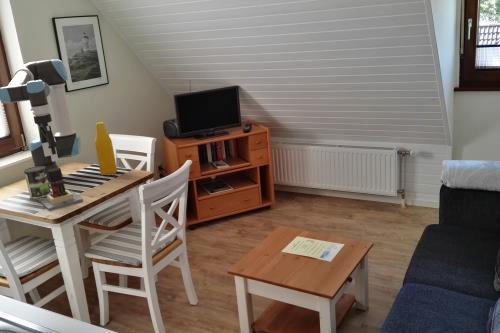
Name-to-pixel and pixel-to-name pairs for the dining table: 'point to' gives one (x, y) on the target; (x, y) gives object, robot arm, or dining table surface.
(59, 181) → the deodorant
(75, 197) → the hub board
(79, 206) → the dining table surface
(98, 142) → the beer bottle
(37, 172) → the coffee can
